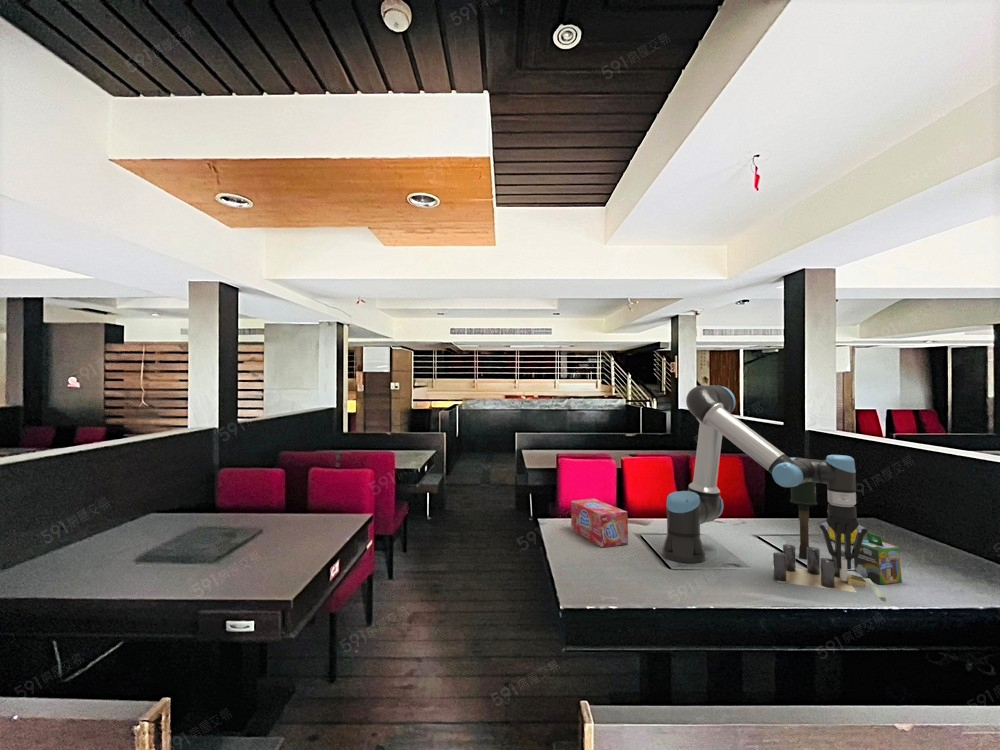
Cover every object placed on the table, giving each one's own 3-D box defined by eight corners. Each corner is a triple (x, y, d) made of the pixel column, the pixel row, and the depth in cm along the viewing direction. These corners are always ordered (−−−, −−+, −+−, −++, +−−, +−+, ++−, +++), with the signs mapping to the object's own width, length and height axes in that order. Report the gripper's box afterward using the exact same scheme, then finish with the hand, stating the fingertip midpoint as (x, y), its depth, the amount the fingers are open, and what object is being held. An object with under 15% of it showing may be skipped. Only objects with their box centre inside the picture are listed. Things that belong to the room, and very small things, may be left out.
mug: (859, 540, 204) (859, 511, 204) (862, 547, 194) (861, 517, 195) (823, 535, 211) (822, 507, 211) (823, 542, 201) (822, 512, 202)
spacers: (774, 580, 157) (773, 555, 157) (769, 565, 170) (769, 542, 171) (855, 591, 148) (854, 564, 149) (843, 574, 162) (843, 550, 162)
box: (569, 530, 219) (569, 499, 220) (595, 527, 224) (595, 497, 224) (600, 548, 194) (600, 514, 194) (629, 545, 198) (629, 511, 198)
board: (777, 586, 156) (777, 581, 156) (772, 569, 171) (772, 565, 171) (885, 601, 145) (885, 596, 145) (869, 581, 159) (869, 577, 159)
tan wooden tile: (847, 584, 153) (848, 578, 153) (844, 579, 157) (845, 573, 157) (865, 588, 151) (866, 582, 151) (861, 583, 156) (862, 577, 156)
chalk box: (902, 583, 158) (901, 537, 159) (880, 585, 156) (878, 539, 157) (874, 572, 167) (873, 529, 168) (853, 575, 165) (852, 530, 166)
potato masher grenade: (823, 565, 174) (821, 480, 175) (796, 563, 176) (794, 479, 177) (812, 557, 183) (811, 476, 184) (787, 555, 185) (785, 475, 186)
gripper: (820, 504, 156) (821, 580, 155) (869, 508, 150) (872, 586, 149) (815, 500, 162) (817, 571, 162) (863, 503, 157) (865, 577, 156)
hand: (843, 578), depth 156 cm, fingers closed
